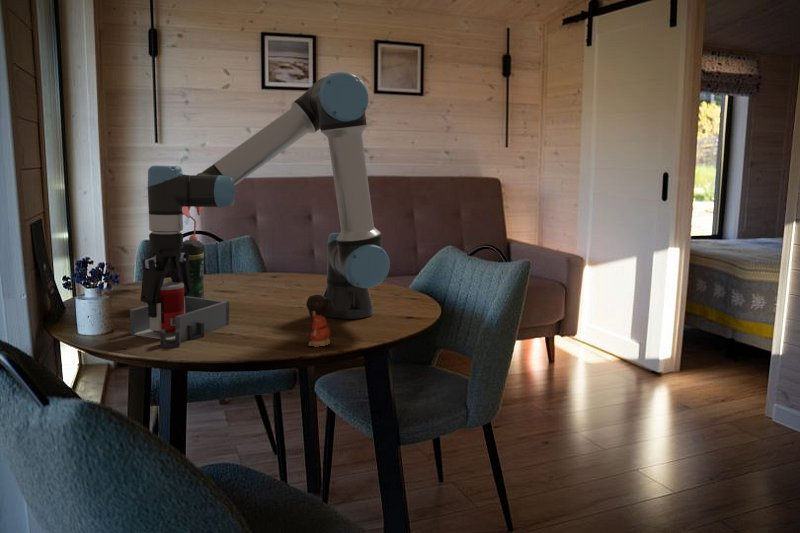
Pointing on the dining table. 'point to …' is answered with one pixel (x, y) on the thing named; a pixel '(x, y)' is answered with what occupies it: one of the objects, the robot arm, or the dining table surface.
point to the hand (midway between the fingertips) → (168, 325)
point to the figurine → (319, 319)
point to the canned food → (171, 304)
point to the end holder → (184, 318)
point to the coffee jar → (195, 266)
